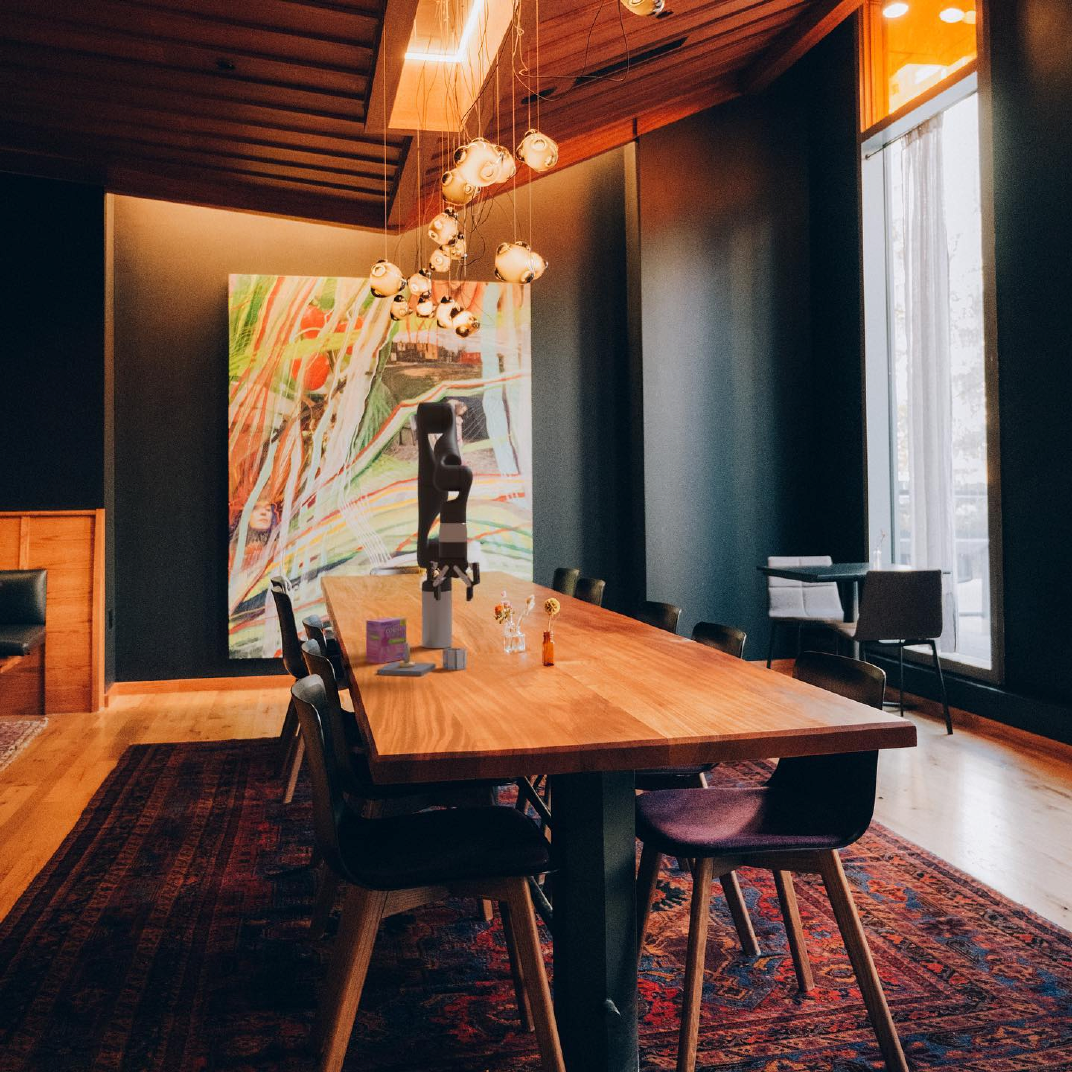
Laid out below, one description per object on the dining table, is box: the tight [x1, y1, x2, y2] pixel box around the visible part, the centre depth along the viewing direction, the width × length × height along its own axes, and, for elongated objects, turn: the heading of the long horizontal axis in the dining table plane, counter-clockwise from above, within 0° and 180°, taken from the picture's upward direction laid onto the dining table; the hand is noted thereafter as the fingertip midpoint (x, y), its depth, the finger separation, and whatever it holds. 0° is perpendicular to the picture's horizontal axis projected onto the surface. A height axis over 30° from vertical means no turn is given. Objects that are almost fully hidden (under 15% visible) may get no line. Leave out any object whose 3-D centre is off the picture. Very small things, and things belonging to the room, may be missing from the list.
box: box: [365, 616, 407, 665], centre depth 260 cm, size 10×6×12 cm, turn 143°
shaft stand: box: [376, 642, 437, 677], centre depth 244 cm, size 12×12×7 cm
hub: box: [442, 647, 468, 671], centre depth 249 cm, size 6×6×5 cm
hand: (453, 600), depth 248 cm, fingers open, 8 cm apart
